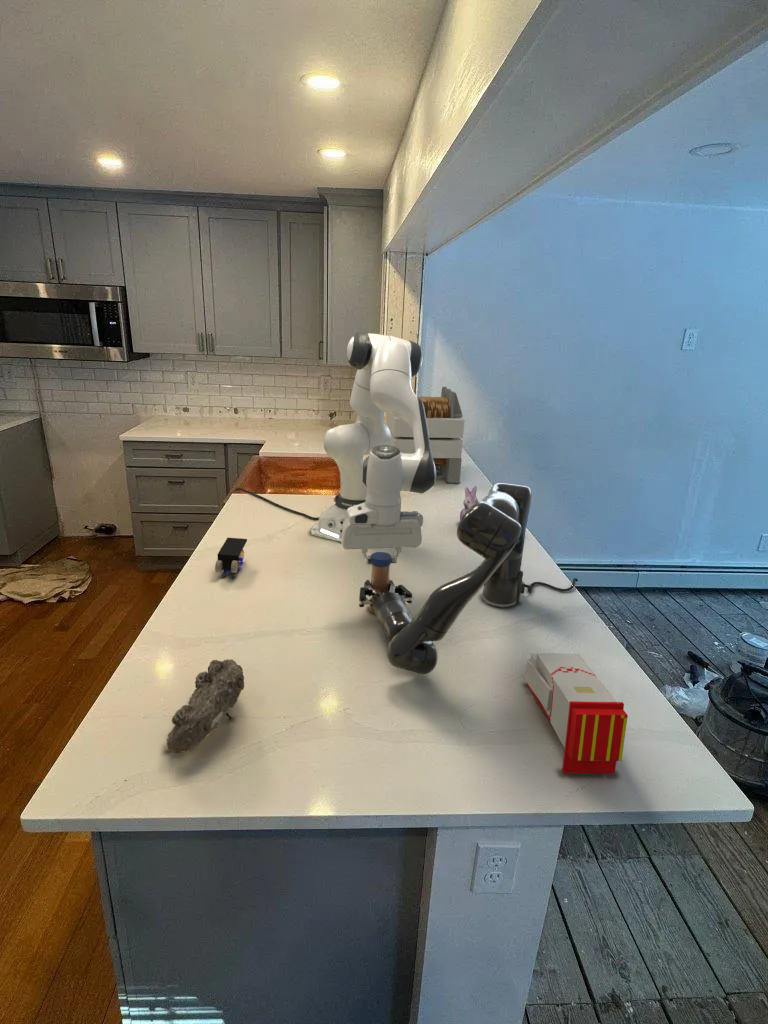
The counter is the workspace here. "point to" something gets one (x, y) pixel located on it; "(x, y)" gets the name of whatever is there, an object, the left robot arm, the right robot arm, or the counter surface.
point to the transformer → (435, 433)
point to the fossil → (206, 705)
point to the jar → (380, 579)
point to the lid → (381, 559)
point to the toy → (578, 711)
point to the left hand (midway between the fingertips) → (380, 563)
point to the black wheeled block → (230, 556)
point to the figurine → (469, 500)
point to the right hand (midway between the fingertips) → (377, 582)
